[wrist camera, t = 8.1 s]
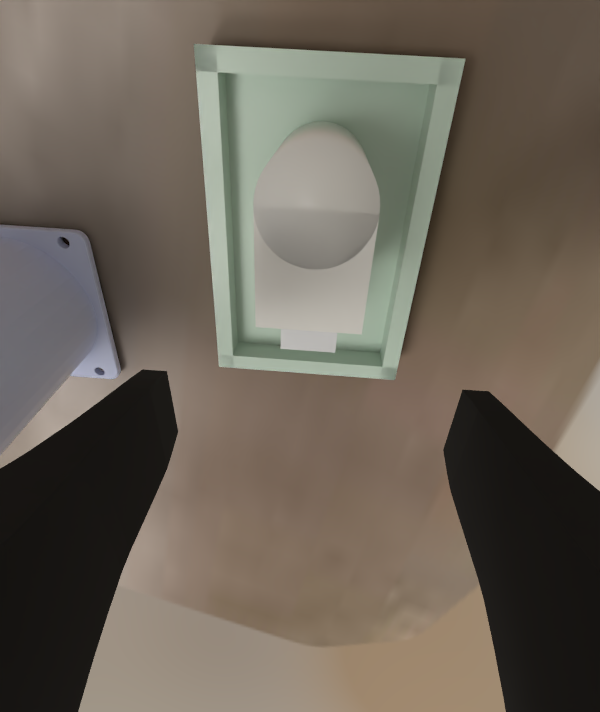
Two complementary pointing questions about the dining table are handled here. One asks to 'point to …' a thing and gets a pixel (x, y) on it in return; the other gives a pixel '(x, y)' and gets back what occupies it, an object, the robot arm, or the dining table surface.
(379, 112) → the tray
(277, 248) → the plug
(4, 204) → the dining table surface
